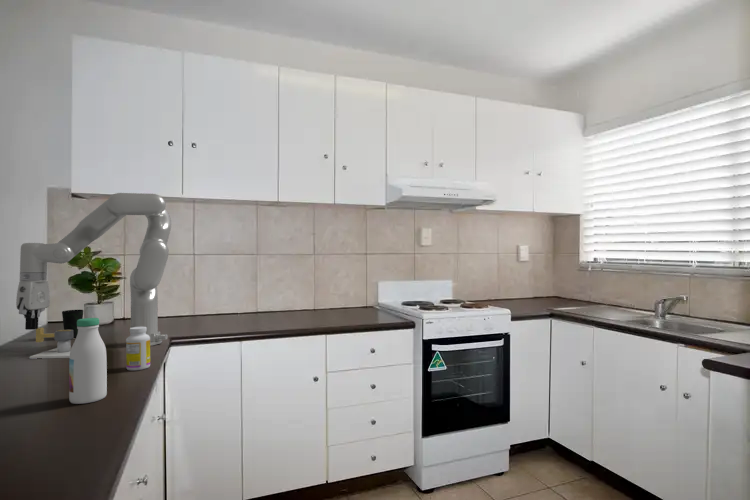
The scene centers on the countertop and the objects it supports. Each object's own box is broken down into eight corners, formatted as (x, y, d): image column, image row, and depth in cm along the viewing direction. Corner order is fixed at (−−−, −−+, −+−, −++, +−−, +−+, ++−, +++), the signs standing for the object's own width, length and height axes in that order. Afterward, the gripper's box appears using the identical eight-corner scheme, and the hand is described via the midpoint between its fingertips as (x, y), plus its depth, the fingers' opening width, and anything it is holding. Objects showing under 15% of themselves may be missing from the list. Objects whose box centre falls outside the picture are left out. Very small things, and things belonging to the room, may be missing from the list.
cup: (58, 340, 178) (58, 312, 178) (66, 337, 186) (66, 310, 186) (79, 339, 180) (79, 311, 180) (86, 336, 188) (86, 309, 188)
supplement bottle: (145, 364, 137) (145, 325, 138) (154, 367, 133) (153, 327, 133) (122, 368, 132) (122, 328, 132) (131, 372, 128) (131, 330, 128)
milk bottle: (113, 393, 108) (113, 316, 108) (94, 404, 101) (94, 321, 101) (82, 394, 108) (82, 316, 108) (61, 405, 100) (61, 321, 100)
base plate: (95, 348, 161) (95, 335, 161) (71, 357, 147) (71, 343, 147) (57, 349, 160) (57, 336, 161) (29, 358, 147) (29, 344, 147)
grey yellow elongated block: (76, 339, 157) (76, 326, 157) (66, 342, 151) (66, 328, 151) (43, 340, 156) (43, 326, 156) (31, 343, 151) (31, 329, 151)
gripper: (28, 278, 142) (26, 332, 142) (58, 276, 157) (57, 326, 157) (5, 278, 142) (3, 332, 141) (38, 276, 157) (36, 325, 156)
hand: (31, 329), depth 149 cm, fingers closed
